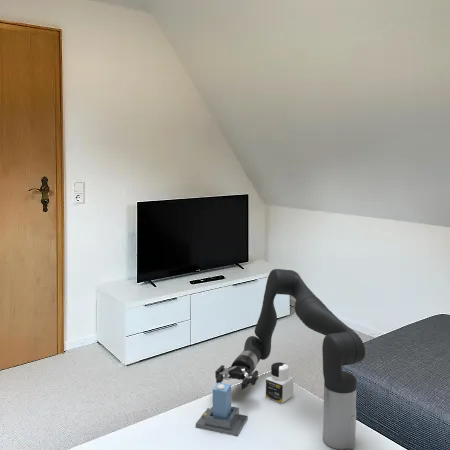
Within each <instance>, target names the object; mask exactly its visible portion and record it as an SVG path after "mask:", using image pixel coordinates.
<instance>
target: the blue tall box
mask: <svg viewBox="0 0 450 450" xmlns="http://www.w3.org/2000/svg"><path fill="white" fill-rule="evenodd" d="M212 406H213V416H214V417H219V418H224V419H228V418H229V416H230V415H231V406H232V384H231V383H223V382H221V383H216V385H214V387H213V388H212Z"/></svg>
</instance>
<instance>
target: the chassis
mask: <svg viewBox="0 0 450 450" xmlns="http://www.w3.org/2000/svg"><path fill="white" fill-rule="evenodd" d="M248 419H249V416H248V415H245V414H241V413H240V407H237V406H236V407H235V406H232V405H231V415H230V416H229V418H228V419H224V418H219V417H214V416H213V405H212V406H211V408H206V410H205V411H204V412H202V414H201V416H200V417H199V419H198V420H197V422H195V428H198V429H203V430H208V431H213V432H218V433H220V434H227V435H232V436H237V437H238V436H239V435H240V433H241V431H243V428H244V426H245V424H247V421H248Z"/></svg>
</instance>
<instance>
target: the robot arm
mask: <svg viewBox="0 0 450 450" xmlns="http://www.w3.org/2000/svg"><path fill="white" fill-rule="evenodd" d="M264 289H265V290H264V294H263V300H262V306H261V310H260V314H259V317H258V320H257V322H256V324H255V327H254V334H255V335H250V336H249V337H247V339H246V340H245V343H244V347H243V348H244V349H243V350H242V352H240V353H239V355H237V357H236V358H235V360H233V362H232V364H231V365H230V366H229V367H228V368H227V367H225V365H224V364H223V365H220V366H219V367H218V368H217V369H216V370H215V371H214V372H215V374H214V375H215V379H216V380H215V381H216V382H215V384H217V383H223V381H225V380H226V381H230V380H234V379H235V380H240V381H241V382H240V383H241V384H240V389H241V390H244V389H246V388H247V387H248V386H249V385H250V384H251V385H252V386H255V385H256V383H257V382H258V379H259V371H258V370H256V368H257V365H258V364H259V362H260V360H261V361H265V360H267V359H268V358H269V357H270V354H271V351H272V350H271V349H272V337H273V334H274V332H275V328H276V326H277V323H278V322H277V321H278V315H277V311H276V307H275V303H274V302H275V297H276V296H277V295H286V296H290V297H293V298H294V299H295V302H294V312H295V314H296V316H297V317H298V318H299V320H300V321H301V322H302V323H303V324H304V325H305V327H307V328H308V329H310V330H312V331H313V332H317V333H319V334H322V335H324V338H323V341H322V347H321V348H322V351H321V352H322V354H321V355H322V375H323V380H324V382H323V410H322V412H323V415H322V417H323V418H322V421H323V422H322V440H323V443H324V444H325V445H326V446H328V447H329V448H333V449H336V450H348V449H350V450H354V449H355V448H354V447H355V441H356V434H357V433H356V430H357V408H356V407H357V388H358V387H357V384H358V383H357V381H358V380H357V378H356V376H354V375H353V374H352V373H350V372H348V371H344V370H343V369H342V366H348V365H355V364H359V363H360V362H362V361H363V360H364V359H365V356H366V348H365V344H364V342H363V340H362V339H361V337H360V336H359V334H358V333H357V332H356V331H355V330H353V329H352V328H350V327H349V326H348V325H347V324H346V323H344V322H343V321H342V320H340V319H339V318H338V317H337V315H336V314H334V313H333V312H332V310H330V309H329V307H327V306H326V304H324V302H323V301H322V300H321V299H320V298H318V297H317V295H316V294H315V293H314V292H313V291H312V290H311V289H310V288H309V287H308V286H307V284H306V283H305V282H304V280H303V279H302V278H301V276H300V275H299V274H298V272H296V271H295V270H291V269H285V268H284V269H282V268H274V269H272V270H271V271H270V272H269V274H268V276H267V280H266V284H265V288H264Z"/></svg>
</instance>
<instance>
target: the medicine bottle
mask: <svg viewBox="0 0 450 450" xmlns="http://www.w3.org/2000/svg"><path fill="white" fill-rule="evenodd" d="M293 396H294V377H293V376H291V375H289V365H288V364H287V363H284V362H281V361H280V362H274V363H272V364H271V367H270V376H267V377H266V378H265V398H267V399H269V400H272V401H275V402H276V403H280V404H283V403H285V402H286V401H288V400H290V399H291V398H293Z"/></svg>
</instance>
